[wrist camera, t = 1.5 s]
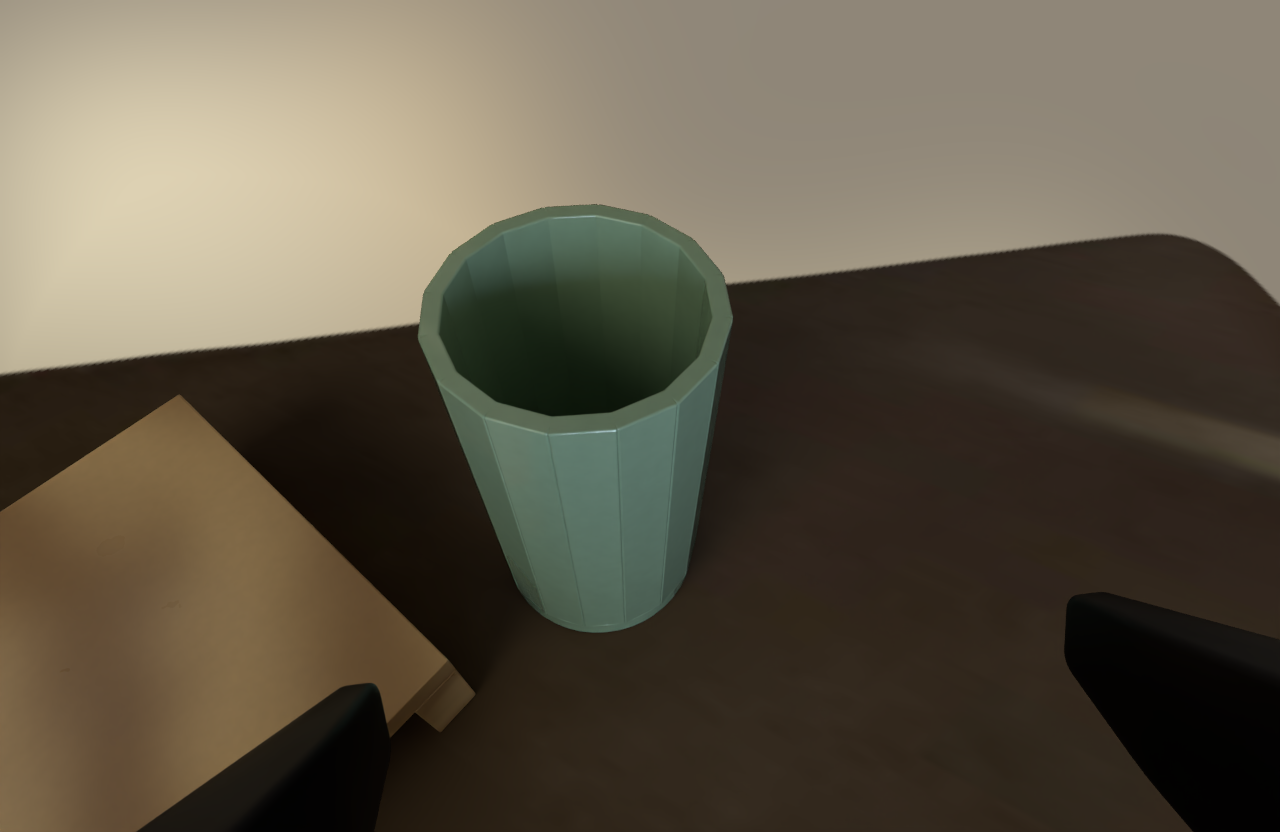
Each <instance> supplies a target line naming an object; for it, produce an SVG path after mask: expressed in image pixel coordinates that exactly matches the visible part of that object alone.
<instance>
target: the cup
mask: <svg viewBox="0 0 1280 832" xmlns="http://www.w3.org/2000/svg"><path fill="white" fill-rule="evenodd" d="M732 323H733V315H732V310H731V306H730V301H729V297H728V292H727V288H726V283H725V279H724V276H723V274H722V272H721V271H720V270H719V269H718V267H717V266H716V265H715V264H714V263H713V262H712V260H711V259H710V258H709V257H708V256H707V254H706V253H705V252H704V251H703V250H702V248H701V247H700V246H699V245H698V244H697V242H696V241H695V240H693V239H692V238H691V237H689V236H687V235H686V234H684V233H681V232H680V231H678V230H676V229H675V228H673V227H671V226H669V225H667V224H666V223H664V222H662V221H660V220H658V219H656V218H655V217H653V216H649V215H648V214H643V213H638V212H634V211H629V210H624V209H619V208H615V207H610V206H605V205H597V204H592V205H573V206H554V207H545V208H540V209H537V210H533V211H531V212H527V213H525V214H521V215H519V216H515V217H512V218H509V219H506V220H502V221H500V222H497V223H494V225H493V224H492V225H490V226H489V227H487V228H486V229H485V230H483V231H481V232H480V233H479V234H477V235H476V236H474V237H473V238H471V239H470V240H469V241H467V242H465V243H464V244H462V245H461V246H460V247H458V248H457V249H455V250H454V251H452V253H451V254H449V256H448V257H447V259H446V260H445V262H444V263H443V265H442V266H441V268H440V269H439V270H438V272H437V273H436V275H435V276H434V278H433V279H432V281H431V282H430V283H429V285H428V287H427V288H426V289H425V291H424V294H423V300H422V308H421V316H420V324H419V332H418V339H419V340H418V341H419V344H420V346H421V349H422V351H423V354H424V356H425V359H426V361H427V364H428V366H429V369H430V371H431V374H432V376H433V379H434V381H435V384H436V387H437V389H438V392H439V394H440V397H441V399H442V402H443V404H444V407H445V409H446V412H447V414H448V417H449V419H450V422H451V424H452V427H453V429H454V432H455V435H456V437H457V440H458V442H459V445H460V447H461V450H462V452H463V455H464V457H465V460H466V462H467V465H468V467H469V470H470V472H471V475H472V478H473V480H474V483H475V485H476V488H477V490H478V493H479V495H480V498H481V500H482V503H483V505H484V508H485V510H486V513H487V515H488V518H489V521H490V523H491V526H492V528H493V531H494V533H495V536H496V538H497V541H498V543H499V546H500V548H501V551H502V553H503V556H504V558H505V561H506V563H507V565H508V568H509V570H510V572H511V575H512V577H513V580H514V582H515V584H516V586H517V588H518V590H519V591H520V593H521V594H522V596H523V597H524V598H525V600H526V601H527V602H528V603H529V604H530V605H531V606H532V607H533V608H534V609H535V610H536V611H537V612H539V613H540V614H541V615H542V616H544V617H545V618H547V619H549V620H551V621H552V622H554V623H556V624H558V625H561V626H564V627H566V628H569V629H573V630H577V631H583V632H592V633H594V632H611V631H617V630H621V629H625V628H628V627H632V626H634V625H636V624H638V623H641V622H643V621H645V620H646V619H648V618H650V617H651V616H653V615H654V614H656V613H657V612H658V611H659V610H661V609H662V608H663V607H664V606H665V605H666V604H667V603H668V602H669V601H670V600H671V599H672V598H673V596H674V595H675V594H676V592H677V591H678V590H679V588H680V586H681V584H682V583H683V581H684V579H685V577H686V574H687V571H688V568H689V565H690V560H691V556H692V551H693V548H694V544H695V540H696V534H697V528H698V522H699V517H700V511H701V505H702V499H703V493H704V487H705V481H706V476H707V470H708V464H709V458H710V452H711V446H712V440H713V435H714V429H715V423H716V417H717V411H718V405H719V399H720V393H721V388H722V382H723V376H724V370H725V364H726V358H727V352H728V347H729V341H730V335H731V329H732Z"/></svg>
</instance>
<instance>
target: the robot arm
mask: <svg viewBox="0 0 1280 832" xmlns="http://www.w3.org/2000/svg"><path fill="white" fill-rule="evenodd" d="M1064 654H1065V659H1066V662H1067V665H1068V667H1069V669H1070V671H1071V673H1072V674H1073V676H1074V677H1075V678H1076V680H1077V681H1078V683H1079V684H1080V685H1081V687H1082V688H1083V690H1084V691H1085V692H1086V694H1087V695H1088V697H1089V698H1090V699H1091V701H1092V702H1093V704H1094V705H1095V706H1096V708H1097V709H1098V710H1099V712H1100V713H1101V715H1102V716H1103V717H1104V719H1105V720H1106V722H1107V723H1108V724H1109V726H1110V727H1111V729H1112V730H1113V731H1114V733H1115V734H1116V736H1117V737H1118V738H1119V740H1120V741H1121V743H1122V744H1123V745H1124V747H1125V748H1126V750H1127V751H1128V752H1129V754H1130V755H1131V756H1132V758H1133V759H1134V761H1135V762H1136V763H1137V764H1138V766H1139V767H1140V768H1141V770H1142V771H1143V772H1144V774H1145V775H1146V776H1147V778H1148V779H1149V780H1150V781H1151V782H1152V784H1153V785H1154V786H1155V787H1156V789H1157V790H1158V791H1159V792H1160V793H1161V795H1162V796H1163V797H1164V798H1165V799H1166V801H1167V802H1168V803H1169V804H1170V805H1171V806H1172V808H1173V809H1174V810H1175V811H1176V812H1177V813H1178V815H1179V816H1180V817H1181V818H1182V819H1183V820H1184V822H1185V823H1186V824H1187V825H1188V826H1189V827H1190V829H1191V830H1192V831H1193V832H1280V640H1279V639H1275V638H1271V637H1268V636H1264V635H1260V634H1257V633H1253V632H1249V631H1246V630H1242V629H1239V628H1235V627H1231V626H1228V625H1224V624H1220V623H1217V622H1213V621H1209V620H1206V619H1202V618H1198V617H1195V616H1191V615H1187V614H1184V613H1180V612H1176V611H1173V610H1169V609H1165V608H1162V607H1158V606H1154V605H1151V604H1147V603H1143V602H1140V601H1136V600H1132V599H1129V598H1125V597H1121V596H1118V595H1114V594H1110V593H1106V592H1096V593H1088V594H1080V595H1075V596H1073V597H1072V598H1071V599H1070V600H1069V602H1068V604H1067V610H1066V627H1065V645H1064ZM390 752H391V743H390V735H389V731H388V726H387V721H386V717H385V712H384V708H383V703H382V698H381V694H380V691H379V689H378V687H377V686H376V685H375V684H373V683H363V684H355V685H346V686H343V687H340V688H339V689H337V690H336V691H334V692H333V693H332V694H330V695H329V696H327V697H326V698H325V699H323V700H322V701H320V702H319V703H317V704H316V705H315V706H313V707H312V708H310V709H309V710H308V711H306V712H305V713H303V714H302V715H300V716H299V717H298V718H296V719H295V720H293V721H292V722H291V723H289V724H288V725H286V726H285V727H283V728H282V729H281V730H279V731H278V732H276V733H275V734H274V735H272V736H271V737H269V738H268V739H266V740H265V741H264V742H262V743H261V744H259V745H258V746H257V747H255V748H254V749H252V750H251V751H249V752H248V753H247V754H245V755H244V756H242V757H241V758H240V759H238V760H237V761H235V762H234V763H232V764H231V765H230V766H228V767H227V768H225V769H224V770H223V771H221V772H220V773H218V774H217V775H216V776H214V777H213V778H211V779H210V780H208V781H207V782H206V783H204V784H203V785H201V786H200V787H199V788H197V789H196V790H194V791H193V792H191V793H190V794H189V795H187V796H186V797H184V798H183V799H182V800H180V801H179V802H177V803H176V804H174V805H173V806H172V807H170V808H169V809H167V810H166V811H165V812H163V813H162V814H160V815H159V816H157V817H156V818H155V819H153V820H152V821H150V822H149V823H148V824H146V825H145V826H143V827H142V828H140V829H139V830H138V831H136V832H374V829H375V824H376V820H377V815H378V810H379V806H380V801H381V797H382V792H383V787H384V783H385V778H386V774H387V769H388V765H389V760H390Z"/></svg>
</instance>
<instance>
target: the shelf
mask: <svg viewBox="0 0 1280 832" xmlns="http://www.w3.org/2000/svg"><path fill="white" fill-rule="evenodd" d="M363 683H373V684H375V685H376V686H377V687H378V689H379V691H380V694H381V698H382V703H383V708H384V712H385V717H386V721H387V726H388V731H389V735H390V738H391V736H392V735H393V734H394V733H395V732H396V731H397V730H398V729H399V728H400V727H401V726H402V725H403V724H404V723H405V722H406V721H407V720H408V719H409V718H410V717H411V716H412V715H413V714H414V712H415V713H416V714H418V715H419V716H420V717H421V718H423V719H424V720H425V721H426V722H428V723H429V724H430V725H431V726H433V727H434V728H435V729H436V730H437V731H439V732H442V731H443V729H444V728H445V727H446V726H447V725H448V724H449V723H450V722H451V721H452V720H453V719H454V718H455V716H456V715H457V714H458V713H459V712H460V711H461V710H462V709H463V708H464V707H465V706H466V705H467V704H468V702H469V701H470V700H471V699H472V698H473V697H474V696H475V692H474V691H473V690H472V688H471V687H470V686H469V685H468V683H467V682H466V681H465V680H464V678H463V677H462V676H461V675H460V674H459V672H458V671H457V670H456V669H455V667H454V666H453V665H452V664H451V662H450V661H449V660H448V659H447V658H446V657H445V656H444V655H443V654H442V653H441V652H440V651H439V650H438V649H437V648H436V647H435V646H434V645H433V644H432V643H431V642H430V641H429V640H428V639H427V638H426V637H425V636H424V635H423V634H422V633H421V632H420V631H419V630H418V629H417V628H416V627H415V626H414V625H413V624H412V623H411V622H410V621H409V620H408V619H407V618H406V617H405V616H404V615H403V614H402V613H401V612H400V611H399V610H398V609H397V608H396V607H395V606H393V605H392V604H391V603H390V602H389V601H388V600H387V599H386V598H385V597H384V596H383V595H382V594H381V593H380V592H379V591H378V590H377V589H376V588H375V587H374V586H373V585H372V584H371V583H370V582H369V581H368V580H367V579H366V578H365V577H364V576H363V575H362V574H361V573H360V572H359V571H358V570H357V569H356V568H355V567H354V566H353V565H352V564H351V563H350V562H349V561H348V560H347V559H346V558H345V557H344V556H343V555H342V554H341V553H340V552H339V551H338V550H337V549H336V548H335V547H334V546H333V545H332V544H331V543H330V542H329V541H328V540H327V539H326V538H325V537H324V536H323V535H322V534H321V533H320V532H319V531H318V530H317V529H316V528H315V527H314V526H313V525H312V524H311V523H310V522H308V521H307V520H306V519H305V518H304V517H303V516H302V515H301V514H300V513H299V512H298V511H297V510H296V509H295V508H294V507H293V506H292V505H291V504H290V503H289V502H288V501H287V500H286V499H285V498H284V497H283V496H282V495H281V494H280V493H279V492H278V491H277V490H276V489H275V488H274V487H273V486H272V485H271V484H270V483H269V482H268V481H267V480H266V479H265V478H264V477H263V476H262V475H261V474H260V473H259V472H258V471H257V470H256V469H255V468H254V467H253V466H252V465H251V464H250V463H249V462H248V461H247V460H246V459H245V458H244V457H243V456H242V455H241V454H240V453H239V452H238V451H237V450H236V449H235V448H234V447H233V446H232V445H231V444H230V443H229V442H228V441H227V440H226V439H225V438H223V437H222V436H221V435H220V434H219V433H218V432H217V431H216V430H215V429H214V428H213V427H212V426H211V425H210V424H209V423H208V422H207V421H206V420H205V419H204V418H203V417H202V416H201V415H200V414H199V413H198V412H197V411H196V410H195V409H194V408H193V407H192V406H191V405H190V404H189V403H188V402H187V401H186V400H185V399H184V398H183V397H182V396H181V395H178V396H176V397H174V398H173V399H171V400H170V401H168V402H167V403H165V404H164V405H162V406H161V407H159V408H158V409H156V410H155V411H153V412H152V413H150V414H149V415H147V416H146V417H144V418H143V419H141V420H139V421H138V422H136V423H135V424H133V425H132V426H130V427H129V428H127V429H126V430H124V431H123V432H121V433H120V434H118V435H117V436H115V437H114V438H112V439H111V440H109V441H108V442H106V443H105V444H103V445H101V446H100V447H98V448H97V449H95V450H94V451H92V452H91V453H89V454H88V455H86V456H85V457H83V458H82V459H80V460H79V461H77V462H76V463H74V464H73V465H71V466H70V467H68V468H66V469H65V470H63V471H62V472H60V473H59V474H57V475H56V476H54V477H53V478H51V479H50V480H48V481H47V482H45V483H44V484H42V485H41V486H39V487H38V488H36V489H35V490H33V491H31V492H30V493H28V494H27V495H25V496H24V497H22V498H21V499H19V500H18V501H16V502H15V503H13V504H12V505H10V506H9V507H7V508H6V509H4V510H3V511H1V512H0V832H136V831H138V830H139V829H140V828H142V827H143V826H145V825H146V824H148V823H149V822H150V821H152V820H153V819H155V818H156V817H157V816H159V815H160V814H162V813H163V812H165V811H166V810H167V809H169V808H170V807H172V806H173V805H174V804H176V803H177V802H179V801H180V800H182V799H183V798H184V797H186V796H187V795H189V794H190V793H191V792H193V791H194V790H196V789H197V788H199V787H200V786H201V785H203V784H204V783H206V782H207V781H208V780H210V779H211V778H213V777H214V776H216V775H217V774H218V773H220V772H221V771H223V770H224V769H225V768H227V767H228V766H230V765H231V764H232V763H234V762H235V761H237V760H238V759H240V758H241V757H242V756H244V755H245V754H247V753H248V752H249V751H251V750H252V749H254V748H255V747H257V746H258V745H259V744H261V743H262V742H264V741H265V740H266V739H268V738H269V737H271V736H272V735H274V734H275V733H276V732H278V731H279V730H281V729H282V728H283V727H285V726H286V725H288V724H289V723H291V722H292V721H293V720H295V719H296V718H298V717H299V716H300V715H302V714H303V713H305V712H306V711H308V710H309V709H310V708H312V707H313V706H315V705H316V704H317V703H319V702H320V701H322V700H323V699H325V698H326V697H327V696H329V695H330V694H332V693H333V692H334V691H336V690H337V689H339V688H340V687H343V686H346V685H355V684H363Z"/></svg>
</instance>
